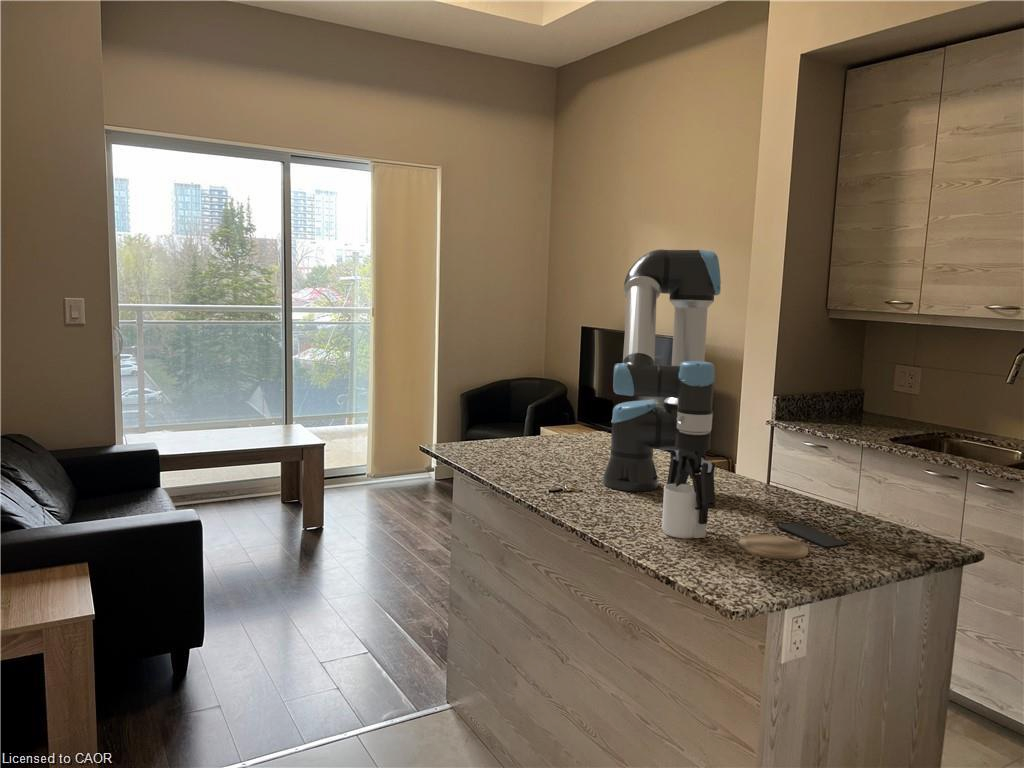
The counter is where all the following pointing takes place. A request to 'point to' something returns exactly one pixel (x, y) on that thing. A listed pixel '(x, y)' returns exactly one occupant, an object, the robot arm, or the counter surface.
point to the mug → (679, 510)
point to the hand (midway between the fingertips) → (687, 530)
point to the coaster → (773, 546)
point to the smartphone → (812, 535)
